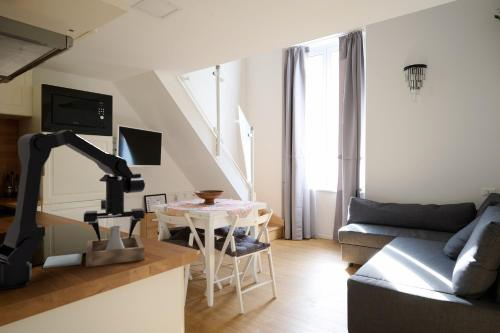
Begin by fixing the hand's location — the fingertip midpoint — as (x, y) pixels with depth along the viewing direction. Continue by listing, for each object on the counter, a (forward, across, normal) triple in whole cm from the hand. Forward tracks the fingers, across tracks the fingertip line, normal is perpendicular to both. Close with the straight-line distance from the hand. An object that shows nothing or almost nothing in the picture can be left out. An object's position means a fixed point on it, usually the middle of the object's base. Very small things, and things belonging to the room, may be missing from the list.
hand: (114, 240), depth 107 cm
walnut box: (+5, 0, 0) cm, 5 cm away
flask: (+6, 0, 0) cm, 6 cm away
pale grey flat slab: (+5, +15, 0) cm, 16 cm away
